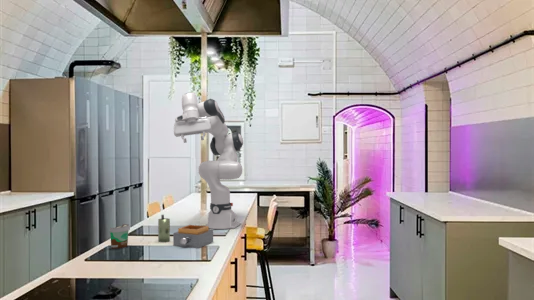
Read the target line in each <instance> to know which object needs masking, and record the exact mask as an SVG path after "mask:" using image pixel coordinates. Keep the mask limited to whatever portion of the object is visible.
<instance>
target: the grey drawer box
mask: <svg viewBox="0 0 534 300" xmlns="http://www.w3.org/2000/svg"><path fill="white" fill-rule="evenodd" d="M172 234H173V237H172V238H173V241H172V242H173V244H172V245H173V246H175V247H186V248H195V249H199V248H202V247H205V246H207V245H209V244H212V243H213V242H214V230H213V229H210V228H208V226H206V225H197V224H196V225H195V224H189V225H186V226H182V227H179V228H178V230H177V231H175V232H173V233H172Z"/></svg>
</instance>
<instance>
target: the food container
mask: <svg viewBox="0 0 534 300" xmlns="http://www.w3.org/2000/svg"><path fill="white" fill-rule="evenodd" d="M130 230H131V228H130V225H129V223H122V224H121V225H120V226H115V227H110V228H109V235H110V249H111V250H112V249H113V250H117V249H118V250H119V249H125V248H127V247H128V243H129V232H130Z"/></svg>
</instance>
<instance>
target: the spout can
mask: <svg viewBox="0 0 534 300" xmlns="http://www.w3.org/2000/svg"><path fill="white" fill-rule="evenodd" d="M160 216H161V218H158V219H157V221H158V222H157V224H158V227H157V228H158V230H157V231H158V233H157V234H158V243H168V242H170V241H171V231H170V230H171V228H170V227H171V225H170V224H171V223H170V222H171V220H170V218H167V217H165V214H161V215H160Z"/></svg>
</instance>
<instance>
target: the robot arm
mask: <svg viewBox="0 0 534 300" xmlns="http://www.w3.org/2000/svg"><path fill="white" fill-rule="evenodd" d="M181 108H182V111H183V112H182V114H181V115H178V116H176V117H175V118H174V121H175V122H174V124H173V125H174V126H173V134H174V136H175V137H176V138H177V137H180V138H181V139H182V140H183V144H184V143H187V141H188V140H187V138H185V136H193V135H199V134H200V135H201V134H202V135H201V136H200V140H201V141H204V140H205V136H206V134H207V133H208V134H211V135H212V136H213V137H212V138H211V141H210V143H209V149H210V151H211V153H212V154H213V155H214V156H219V157H218V158H217V160H205V161H202V162H201V163H200V164H199V166H198V174H199V175H200V177H201V178H202V179H203V180H204V181H205V182H206V183H207V185H208V187H209V190H210V203H209V204H210V205H209V209H210V210H209V212H208V216H207V224H205V226H208V228H209V229H211V230H213V229H214V230H227V229H236V228H237V227H238V226H240V225H241V222H239V221H237V218H238V217H237V214H236V213H235V211H233V210H232V207H233V206H234V203H233V202H231V191H230V189H229V188H228V187H227V186H226V185H224V184H222V183H221V180H230V181H231V180H237V179H239V178H241V176H242V174H243V166H242V165H241V163H240V162H239V161H238V155H237V151H238V152H240V150H241V148H242V147H243V145H244V140H243V139H244V138H243V136H242V135H241V133H239V132H238V131H237V132H236V131H235V132H231V133H229V134H228V131H229V128H228V125H227V124H226V123H225V122H226V120H225V116H224V113H223V112H222V110H221V108H220V107H219V105H218V102H217V101H216V100H215V99H213V98H209V99H206V100H204V101H202V102H201V101H200V102H198V99H197V94H196V93H195V92H192V91H191V92H186V93H184V94H182V97H181Z"/></svg>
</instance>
